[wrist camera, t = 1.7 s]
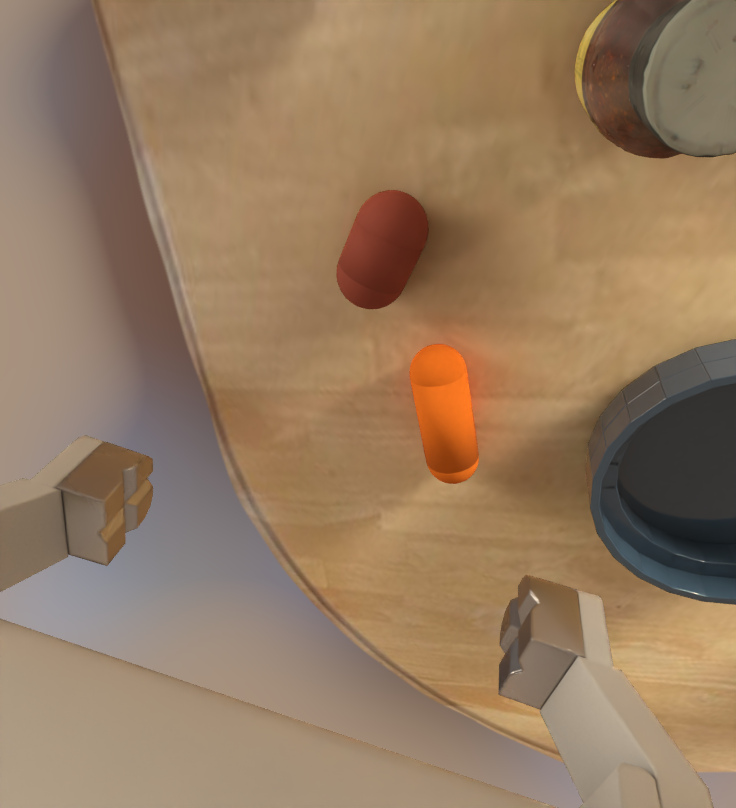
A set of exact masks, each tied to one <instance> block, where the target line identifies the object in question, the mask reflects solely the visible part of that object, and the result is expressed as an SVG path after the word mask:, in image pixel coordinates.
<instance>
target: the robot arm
mask: <svg viewBox="0 0 736 808" xmlns="http://www.w3.org/2000/svg"><path fill="white" fill-rule="evenodd" d="M152 472H153V460H152V458H150V457H149V456H146V455H143V454H140V453H137V452H134V451H132V450H129V449H126V448H123V447H120V446H117V445H114V444H111V443H108V442H104V441H101V440H98V439H95V438H92V437H89V436H86V435H84V436H82V437H78V438H77V439H76V440H75V441H74V442H72V443H71V444H70V445H69V446H68V447H67V448H66V449H64V450H63V451H62V452H61V453H60V454H59V455H58V456H57V457H55V458H54V459H53V460H52V461H51V462H50V463H49V464H48V465H46V466H45V467H44V468H43V469H42V470H41V471H40V472H39V473H37V474H36V475H35V476H34V477H33V478H32V479H31V480H28V479H24V478H22V479H19V480H16V481H13V482H9V483H6V484H3V485H0V592H1V591H3V590H5V589H7V588H9V587H11V586H13V585H15V584H17V583H19V582H21V581H22V580H24V579H26V578H28V577H30V576H32V575H34V574H36V573H38V572H40V571H42V570H44V569H46V568H48V567H49V566H51V565H53V564H55V563H57V562H59V561H61V560H63V559H65V558H67V557H68V554H69V555H72V556H75V557H79V558H82V559H86V560H89V561H92V562H96V563H99V564H102V565H106V566H107V565H108V564H109V563H110V562H111V561H112V559H113V558H114V556H115V555H116V554H117V553H118V552H119V550H120V549H121V548H122V547H123V545H124V544H125V533H126V532H129V531H131V530H134V529H136V528H137V527H138V526H139V525H140V523H141V522H142V521H143V520H144V518H145V516H146V514H147V512H148V509H149V508H150V505H151V501H152V496H153V486H152V485H151V483H150V482H149V480H148V479H147V478H148V476H149V475H150V474H151V473H152ZM500 646H501V648H502V650H503V651H504V653H505V655H504V657H503V659H502V660H501V662H500V664H499V695H501V696H504V697H507V698H510V699H512V700H515V701H518V702H521V703H524V704H526V705H529V706H532V707H535V708H537V709H540V713H541V716H542V718H543V720H544V722H545V724H546V726H547V728H548V730H549V732H550V734H551V736H552V738H553V741H554V743H555V745H556V747H557V749H558V751H559V753H560V755H561V757H562V759H563V761H564V763H565V765H566V768H567V770H568V771H569V774H570V776H571V778H572V780H573V782H574V784H575V786H576V788H577V790H578V793H579V795H580V797H581V798H582V801H583V804H582V805H581V806H580V807H579V808H714V807H713V803H712V799H711V795H710V792H709V788H708V787H707V786H706V784H705V783H704V782H703V780H702V779H701V778H700V776H699V775H698V774H697V772H696V771H695V769H694V768H693V767H692V765H691V764H690V763H689V761H688V760H687V759H686V757H685V756H684V755H683V753H682V752H681V751H680V749H679V748H678V746H677V745H676V744H675V742H674V741H673V740H672V738H671V737H670V736H669V734H668V733H667V732H666V730H665V729H664V728H663V726H662V725H661V723H660V722H659V721H658V719H657V718H656V717H655V715H654V714H653V713H652V711H651V710H650V709H649V707H648V706H647V705H646V703H645V702H644V700H643V699H642V698H641V696H640V695H639V694H638V692H637V691H636V690H635V688H634V687H633V686H632V684H631V683H630V682H629V680H628V679H627V677H626V676H625V675H624V673H623V672H622V671H621V670H619V669H616V668H614V667H613V660H612V654H611V648H610V642H609V636H608V630H607V624H606V618H605V612H604V606H603V601H602V599H601V598H600V596H597V595H593V594H590V593H587V592H583V591H580V590H577V589H573V588H570V587H566V586H563V585H560V584H557V583H553V582H550V581H547V580H543V579H540V578H537V577H533V576H530V575H525V576H524V577H523V578H522V580H521V582H520V584H519V586H518V597H517V598H515V599H512V600H510V603H509V605H508V607H507V609H506V611H505V614H504V617H503V621H502V625H501V632H500ZM0 808H557V807H554V806H551V805H548V804H545V803H542V802H539V801H536V800H533V799H531V798H528V797H525V796H522V795H519V794H516V793H513V792H510V791H507V790H504V789H501V788H498V787H495V786H492V785H489V784H486V783H483V782H480V781H478V780H474V779H472V778H469V777H466V776H463V775H459V774H457V773H454V772H451V771H448V770H445V769H442V768H439V767H436V766H433V765H430V764H427V763H424V762H421V761H419V760H416V759H413V758H410V757H407V756H404V755H401V754H398V753H395V752H392V751H389V750H386V749H383V748H380V747H377V746H374V745H371V744H368V743H365V742H362V741H359V740H356V739H353V738H350V737H347V736H344V735H342V734H338V733H335V732H333V731H330V730H327V729H324V728H321V727H318V726H315V725H312V724H308V723H306V722H303V721H300V720H297V719H294V718H291V717H288V716H285V715H282V714H279V713H276V712H273V711H270V710H268V709H265V708H262V707H258V706H255V705H253V704H250V703H247V702H244V701H241V700H238V699H235V698H232V697H229V696H226V695H224V694H221V693H218V692H215V691H212V690H209V689H206V688H203V687H200V686H197V685H194V684H191V683H188V682H185V681H182V680H179V679H177V678H174V677H171V676H168V675H165V674H162V673H159V672H156V671H153V670H150V669H147V668H144V667H141V666H138V665H135V664H132V663H129V662H127V661H123V660H121V659H117V658H115V657H112V656H109V655H106V654H103V653H100V652H97V651H94V650H91V649H88V648H85V647H82V646H79V645H76V644H73V643H70V642H68V641H65V640H62V639H58V638H55V637H53V636H50V635H47V634H44V633H41V632H38V631H35V630H32V629H29V628H26V627H23V626H20V625H18V624H15V623H11V622H9V621H6V620H3V619H0Z"/></svg>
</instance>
